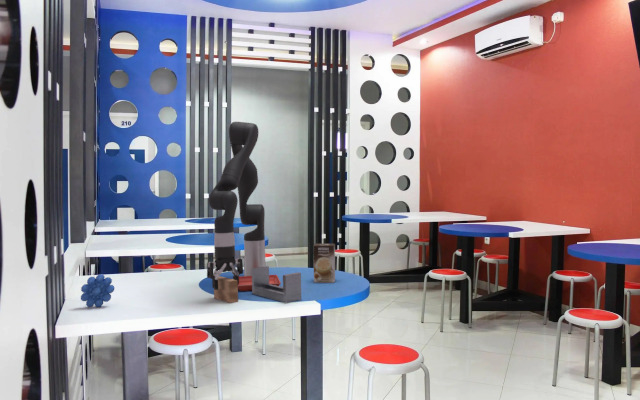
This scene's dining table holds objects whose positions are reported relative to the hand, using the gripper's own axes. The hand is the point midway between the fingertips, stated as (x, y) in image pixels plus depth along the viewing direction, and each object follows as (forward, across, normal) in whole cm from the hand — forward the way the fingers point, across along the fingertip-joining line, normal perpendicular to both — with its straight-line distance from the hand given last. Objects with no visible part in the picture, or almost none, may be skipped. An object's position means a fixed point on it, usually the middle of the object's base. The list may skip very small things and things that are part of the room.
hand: (225, 287), depth 201 cm
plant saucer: (+5, -22, -11) cm, 25 cm away
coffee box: (+4, -48, +2) cm, 48 cm away
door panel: (+5, 0, 0) cm, 5 cm away
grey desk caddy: (+4, -16, +10) cm, 19 cm away
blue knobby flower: (+5, +38, -26) cm, 46 cm away
